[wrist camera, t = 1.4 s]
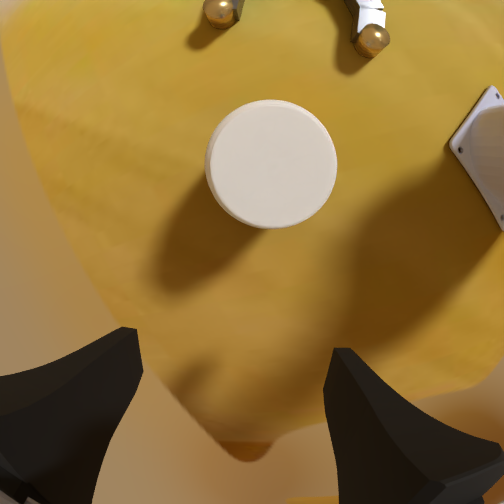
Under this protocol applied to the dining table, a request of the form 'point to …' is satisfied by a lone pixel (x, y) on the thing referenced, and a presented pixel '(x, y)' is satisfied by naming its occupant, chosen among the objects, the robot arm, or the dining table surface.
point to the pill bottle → (270, 164)
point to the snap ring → (359, 3)
